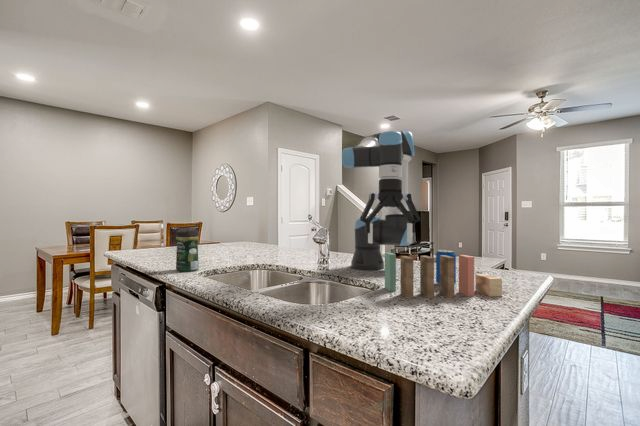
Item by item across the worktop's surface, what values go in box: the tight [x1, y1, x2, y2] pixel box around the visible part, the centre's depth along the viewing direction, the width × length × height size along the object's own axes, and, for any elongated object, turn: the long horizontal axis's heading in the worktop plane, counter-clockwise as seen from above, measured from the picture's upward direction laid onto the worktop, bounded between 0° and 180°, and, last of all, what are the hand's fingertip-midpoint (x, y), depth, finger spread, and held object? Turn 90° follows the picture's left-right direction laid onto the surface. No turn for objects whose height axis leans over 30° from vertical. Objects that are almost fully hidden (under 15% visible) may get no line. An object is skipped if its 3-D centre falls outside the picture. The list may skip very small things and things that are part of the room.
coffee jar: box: [175, 227, 200, 273], centre depth 138 cm, size 10×8×19 cm
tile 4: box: [439, 255, 455, 298], centre depth 97 cm, size 5×2×12 cm, turn 7°
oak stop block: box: [475, 273, 503, 297], centre depth 99 cm, size 7×4×5 cm, turn 7°
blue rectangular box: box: [435, 249, 457, 286], centre depth 111 cm, size 6×6×12 cm
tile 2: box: [400, 255, 414, 300], centre depth 95 cm, size 5×2×12 cm, turn 7°
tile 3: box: [419, 255, 435, 299], centre depth 96 cm, size 5×2×12 cm, turn 7°
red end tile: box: [458, 254, 475, 297], centre depth 98 cm, size 5×2×12 cm, turn 7°
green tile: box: [384, 251, 397, 292], centre depth 104 cm, size 5×2×12 cm, turn 7°
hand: (390, 243), depth 104 cm, fingers open, 13 cm apart
